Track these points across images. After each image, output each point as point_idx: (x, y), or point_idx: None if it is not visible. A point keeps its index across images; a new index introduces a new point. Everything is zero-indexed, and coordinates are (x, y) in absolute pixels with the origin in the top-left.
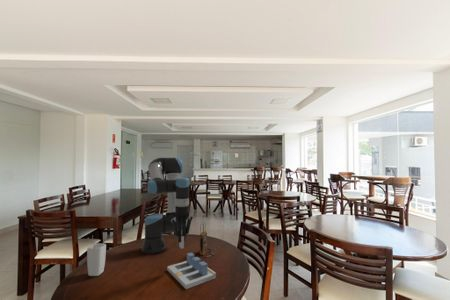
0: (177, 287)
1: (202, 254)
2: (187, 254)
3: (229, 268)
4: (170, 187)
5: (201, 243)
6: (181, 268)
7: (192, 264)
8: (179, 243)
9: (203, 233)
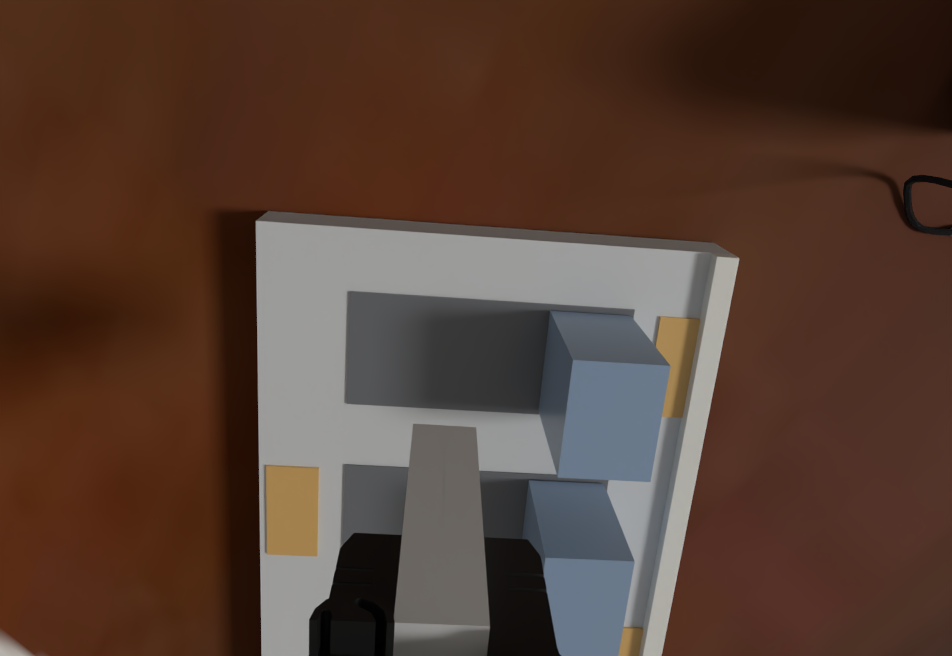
0: (213, 628)
1: None
2: (567, 391)
3: (888, 648)
4: None
5: None
6: (399, 409)
7: (533, 505)
8: (408, 472)
9: None
